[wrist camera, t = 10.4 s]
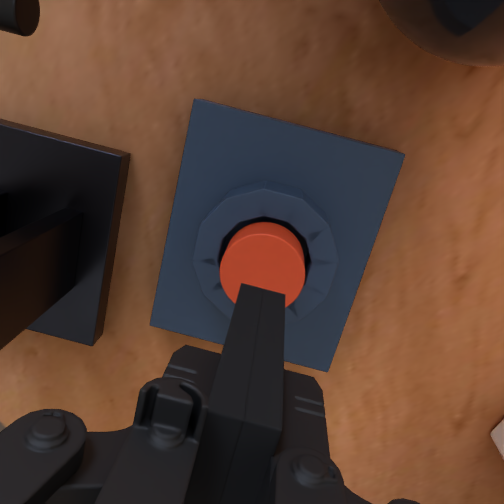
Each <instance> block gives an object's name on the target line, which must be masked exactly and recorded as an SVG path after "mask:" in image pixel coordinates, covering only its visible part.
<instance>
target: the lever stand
mask: <svg viewBox="0 0 504 504" xmlns="http://www.w3.org/2000/svg"><path fill="white" fill-rule="evenodd" d="M130 155H131V154H130V153H128V152H124V151H120V150H116V149H113V148H109V147H105V146H101V145H97V144H94V143H90V142H86V141H82V140H79V139H75V138H71V137H67V136H63V135H60V134H56V133H52V132H48V131H44V130H41V129H37V128H33V127H29V126H26V125H22V124H18V123H14V122H10V121H7V120H3V119H0V350H1V349H2V348H3V347H5V346H6V345H7V344H8V343H9V342H11V341H12V340H13V339H14V338H15V337H16V336H18V335H19V334H20V333H21V332H22V331H23V330H25V329H28V330H32V331H36V332H40V333H44V334H47V335H51V336H55V337H59V338H63V339H66V340H70V341H74V342H78V343H82V344H85V345H89V346H93V345H94V344H95V343H96V342H97V340H98V339H99V338H100V337H101V335H102V333H103V326H104V320H105V314H106V307H107V301H108V295H109V288H110V282H111V276H112V269H113V263H114V257H115V250H116V244H117V238H118V231H119V225H120V218H121V212H122V206H123V199H124V193H125V187H126V180H127V174H128V168H129V161H130Z"/></svg>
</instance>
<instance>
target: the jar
mask: <svg viewBox="0 0 504 504" xmlns="http://www.w3.org/2000/svg"><path fill="white" fill-rule="evenodd" d="M491 438H492V440H493V441H494V443H495V445H496V447H497V449H498V451H499V453H500V455H501V457H502V459H503V461H504V419H503V420H502V421H501V422H500V423H499V424H498V425H497V426H496V427H495V428H494V429H493V430H492V432H491Z"/></svg>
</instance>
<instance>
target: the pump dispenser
mask: <svg viewBox="0 0 504 504" xmlns="http://www.w3.org/2000/svg"><path fill="white" fill-rule="evenodd" d="M379 1H380V3H381V5H382V7H383V9H384V10H385V12H386V13H387V15H388V16H389V18H390V19H391V21H392V22H393V23H394V24H395V26H396V27H397V28H398V29H399V30H400V31H401V32H402V33H403V34H404V35H405V36H406V37H407V38H408V39H410V40H411V41H412V42H413V43H415V44H416V45H417V46H419V47H420V48H422V49H423V50H425V51H427V52H429V53H430V54H432V55H435V56H437V57H439V58H441V59H444V60H447V61H450V62H454V63H458V64H463V65H469V66H480V67H492V66H504V0H379Z"/></svg>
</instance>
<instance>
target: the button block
mask: <svg viewBox="0 0 504 504" xmlns="http://www.w3.org/2000/svg"><path fill="white" fill-rule="evenodd" d="M404 158H405V154H403V153H401V152H399V151H397V150H393V149H389V148H386V147H382V146H378V145H374V144H370V143H367V142H363V141H359V140H355V139H351V138H348V137H344V136H340V135H336V134H333V133H329V132H325V131H321V130H317V129H314V128H310V127H306V126H302V125H298V124H295V123H291V122H287V121H283V120H280V119H276V118H272V117H268V116H264V115H261V114H257V113H253V112H249V111H245V110H242V109H238V108H234V107H230V106H227V105H223V104H219V103H215V102H211V101H208V100H204V99H194V101H193V106H192V111H191V116H190V121H189V126H188V131H187V136H186V142H185V147H184V152H183V157H182V162H181V167H180V172H179V177H178V182H177V188H176V193H175V198H174V203H173V208H172V213H171V218H170V223H169V228H168V234H167V239H166V244H165V249H164V254H163V259H162V264H161V269H160V274H159V280H158V285H157V290H156V295H155V300H154V305H153V310H152V315H151V320H150V326H154V327H158V328H161V329H165V330H169V331H173V332H177V333H180V334H184V335H188V336H192V337H196V338H199V339H203V340H207V341H211V342H214V343H218V344H222V345H224V343H225V339H226V336H227V332H228V329H229V325H230V321H231V318H232V314H233V311H234V307H235V303H234V302H233V301H232V300H231V299H230V298H229V297H228V296H227V294H226V293H225V291H224V289H223V287H222V284H221V281H220V264H221V260H222V258H223V255H224V253H225V251H226V249H227V246H228V244H229V242H230V240H231V239H232V237H233V236H234V235H235V234H236V233H237V232H238V231H239V230H240V229H242V228H243V227H245V226H247V225H249V224H252V223H256V222H272V223H276V224H279V225H281V226H283V227H285V228H287V229H288V230H290V231H291V232H292V233H293V234H294V235H295V236H296V238H297V239H298V241H299V242H300V244H301V247H302V250H303V254H304V264H305V281H304V285H303V288H302V290H301V292H300V294H299V296H298V297H297V298H296V299H295V300H294V301H293V302H292V303H291V304H290V305H289V306H287V307H285V335H284V361H286V362H290V363H294V364H298V365H302V366H305V367H309V368H313V369H317V370H321V371H324V372H328V371H329V368H330V365H331V362H332V359H333V357H334V354H335V351H336V348H337V345H338V343H339V340H340V337H341V334H342V331H343V329H344V326H345V323H346V320H347V317H348V315H349V312H350V309H351V306H352V303H353V301H354V298H355V295H356V292H357V289H358V287H359V284H360V281H361V278H362V275H363V273H364V270H365V267H366V264H367V261H368V259H369V256H370V253H371V250H372V247H373V244H374V242H375V239H376V236H377V233H378V230H379V228H380V225H381V222H382V219H383V216H384V214H385V211H386V208H387V205H388V202H389V200H390V197H391V194H392V191H393V188H394V186H395V183H396V180H397V177H398V174H399V172H400V169H401V166H402V163H403V160H404Z"/></svg>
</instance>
